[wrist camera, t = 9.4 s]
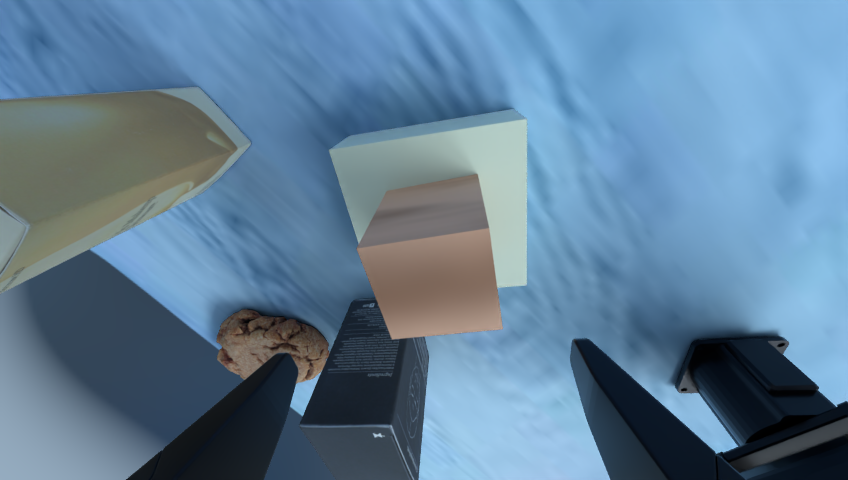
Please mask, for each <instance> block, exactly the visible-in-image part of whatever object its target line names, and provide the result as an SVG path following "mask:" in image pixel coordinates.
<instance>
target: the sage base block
mask: <svg viewBox="0 0 848 480" xmlns="http://www.w3.org/2000/svg"><path fill="white" fill-rule="evenodd" d="M329 152H330V156H331V159H332V162H333V165H334V168H335V171H336V174H337V178H338V181H339V184H340V187H341V190H342V193H343V196H344V200H345V203H346V206H347V209H348V212H349V215H350V218H351V222H352V225H353V228H354V231H355V234H356V237H357V240H358V244H359V243H360V241H361V239H362V237H363V235H364V233H365V231H366V229H367V227H368V226H369V224H370V222H371V220H372V218H373V216H374V214H375V212H376V210H377V208H378V206H379V205H380V203H381V201H382V199H383V197H384V195H385V193H386V191H389V190H394V189H400V188H405V187H410V186H416V185H421V184H426V183H432V182H437V181H442V180H448V179H453V178H458V177H464V176H469V175H474V174H478V178H479V182H480V187H481V192H482V196H483V201H484V206H485V211H486V215H487V220H488V225H489V230H490V237H491V245H492V252H493V260H494V267H495V275H496V282H497V288H499V287H513V286H526V285H527V118H525V117H524V116H523V115H521V114H520V113H519V112H518V111H516V110H515V109H509V110H503V111H497V112H491V113H485V114H479V115H473V116H466V117H460V118H454V119H448V120H442V121H436V122H430V123H424V124H417V125H411V126H405V127H399V128H393V129H387V130H381V131H375V132H369V133H362V134H356V135H350V136H348V137H347V138H345V139H344V140H342V141H341V142H340V143H338V144H337V145H335V146H334V147H332V148H331V149H329Z"/></svg>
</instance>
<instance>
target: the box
mask: <svg viewBox="0 0 848 480" xmlns="http://www.w3.org/2000/svg"><path fill="white" fill-rule="evenodd" d="M428 363H429V355H428V350H427V346H426V342H425V338H424V337H413V338H402V339H392V338H391V336H390V333H389V330H388V328H387V325H386V323H385V320H384V318H383V315H382V313H381V310H380V307H379V305H378V302H377V300H376V299H361V300H354V301H353V302H351V305H350V307H349V310H348V312H347V314H346V317H345V319H344V321H343V323H342V326H341V328H340V330H339V333H338V335H337V338H336V340H335V342H334V344H333V347H332V349H331V351H330V354H329V356H328V358H327V361H326V363H325V365H324V368H323V370H322V372H321V375H320V377H319V379H318V382H317V384H316V386H315V389H314V391H313V394H312V396H311V398H310V401H309V403H308V405H307V407H306V410H305V413H304V415H303V417H302V420H301V422H300V424H299V427H300V428H301V430H302V431H303V433H304V434H305V436H306V437H307V438H308V440H309V441H310V443H311V444H312V446H313V447H314V448H315V450H316V451H317V453H318V454H319V456H320V457H321V459H322V460H323V462H324V463H325V464H326V466H327V467H328V469H329V470H330V472H331V473H332V474H333V476H334V477H335V479H336V480H418V478H419V466H420V454H421V442H422V431H423V419H424V407H425V396H426V385H427V373H428Z"/></svg>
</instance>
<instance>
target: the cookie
mask: <svg viewBox="0 0 848 480" xmlns="http://www.w3.org/2000/svg"><path fill="white" fill-rule="evenodd" d="M220 327H221V329H220V330H219V333H218V335H217V342H218V343H219V344H221V346H222V348H221V349H220V350H219V353H218V356H217V359H218V361H219V362H220V363H222V364H223V365H224V366H225V367H226V368H227V369H228V370H229V371H232V372H234V373H236V374H239V375H241V376H240V377H241V378H243V379H246V378H247V377H249V376H250V375H251V374H252V373H253V372H255V371H256V370H257V369H258V368H259V367H260V366H262V365H263V364H264V363H265V362H266V361H268V360H269V359H270V358H271V357H272V356H273V355H275V354H277V353H286V352H287V353H289V354H290V355H291V356H292V358H293V360H294V361H295V363H296V365H297V367H298V371H299V373H298V378H297V382H296V383H298V382H304V381H306V380H311V379H313V378H314V377H315V376H316V375H318V374H319V373H320V372H321V371H322V370H323V368H324V365H325V363H326V359H327V358H328V356H329V351H328V346H329V345H328V342H327V340H325V338H324V337H323V336H322V335H321V333H319V332H318V330H317V329H314V328H313V327H312V326H307V325H306V324H302V323H297V320H294V319H289V320H287V319H286V318H285V317H275V318H274V317H273V316H272V317H268V316H260V315H259V313H257V312H256V311H253V310H247V309H243V310H241V311H239V312H237V313H234V314H233V315H232V316H230V317H228V318H227V319H226V320H225V321H224V322H223V323H222V325H221V326H220Z"/></svg>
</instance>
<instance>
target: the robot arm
mask: <svg viewBox="0 0 848 480" xmlns="http://www.w3.org/2000/svg"><path fill="white" fill-rule="evenodd" d="M788 345H789V342H788V341H787V340H786V339H785V338H783V337H779V336H778V337H755V338H731V339H707V340H697V341H694V342H693V343H692V344H691V347H690V349H689V352H688V355H687V357H686V360H685V362H684V365H683V367H682V370H681V372H680V375H679V377H678V380H677V383H676V385H675V388H676V389H677V391H678V392H679V393H699V394H700V396H701V397H702V398H703V400H704V401H705V402H706V404H707V405H708V406H709V408H710V409H711V410H712V412H713V413H714V414H715V416H716V417H717V418H718V420H719V421H720V423H721V424H722V425H723V427H724V428H725V429H726V431H727V432H728V433H729V435H730V436H731V437H732V439H733V440H734V441H735V443H736V444H737V445H738V447H736V448H734V449H731V450H729V451H726V452H724V453H723V452H719V453H717V454H716V453H715V451H714V450H713V449H711V448H710V447H709V446H708V445H707V444H706V443H705V442H704V441H702V440H701V439H700V438H699V437H698V436H697V435H696V434H695V433H693V432H692V431H691V430H690V429H689V428H688V427H687V426H686V425H685V424H683V423H682V422H681V421H680V420H679V419H678V418H677V417H676V416H674V415H673V414H672V413H671V412H670V411H669V410H668V409H667V408H665V407H664V406H663V405H662V404H661V403H660V402H659V401H658V400H657V399H655V398H654V397H653V396H652V395H651V394H650V393H649V392H648V391H646V390H645V389H644V388H643V387H642V386H641V385H640V384H639V383H637V382H636V381H635V380H634V379H633V378H632V377H631V376H630V375H629V374H627V373H626V372H625V371H624V370H623V369H622V368H621V367H620V366H618V365H617V364H616V363H615V362H614V361H613V360H612V359H611V358H609V357H608V356H607V355H606V354H605V353H604V352H603V351H602V350H601V349H599V348H598V347H597V346H596V345H595V344H594V343H593V342H592V341H590V340H589V339H586V338H582V339H573V341H572V346H571V355H570V362H571V367H572V370H573V374H574V377H575V381H576V384H577V388H578V391H579V395H580V398H581V402H582V405H583V409H584V412H585V416H586V419H587V422H588V424H589V427H590V430H591V432H592V435H593V437H594V440H595V442H596V445H597V447H598V450H599V452H600V455H601V457H602V460H603V462H604V465H605V467H606V470H607V472H608V475H609V477H610V480H848V402H847V401H845V402H843V403H840V404H838V405H837V406H838V407H836V406H835V405H834V404H833V403H832V402H830V401H829V400H828V399H827V398H826V397H825V396H824V395H823V394H822V393H820V392H819V391H818V389H819V387H818V386H817V385H816V384H815V383H814V382H813V381H812V380H811V379H810V378H808V377H807V376H806V375H805V374H804V373H803V372H802V371H801V370H799V369H798V368H797V367H796V366H795V365H794V364H793V363H792V362H790V361H789V360H788V359H787V358H786V357H785V356H784V355H783V353H784V351H785V350H786V348H787V347H788ZM298 373H299V371H298V367H297V365H296V363H295V361H294V360H293V358H292V356H291V355H290V354H289V353H287V352H286V353H277V354H275V355H273V356H272V357H271V358H270V359H269V360H268V361H266V362H265V363H264V364H263V365H262V366H260V367H259V368H258V369H257V370H256V371H255V372H253V373H252V374H251V375H250V376H249V377H247V378H246V379H245V380H244V381H243V382H242V383H240V384H239V385H238V386H237V387H236V388H235V389H233V390H232V391H231V392H230V393H229V394H227V395H226V396H225V397H224V398H223V399H222V400H220V401H219V402H218V403H217V404H216V405H214V406H213V407H212V408H211V409H210V410H208V411H207V412H206V413H205V414H204V415H203V416H201V417H200V418H199V419H198V420H197V421H196V422H194V423H193V424H192V425H191V426H190V427H188V428H187V429H186V430H185V431H184V432H182V433H181V434H180V435H179V436H178V437H177V438H175V439H174V440H173V441H172V442H171V443H170V444H168V445H167V446H166V447H165V448H164V449H163V451H160V452H159V453H158V454H156V455H155V456H154V457H153V458H152V459H150V460H149V461H148V462H147V463H146V464H145V465H143V466H142V467H141V468H140V469H139V470H137V471H136V472H135V473H134V474H132V475H131V476H130V477H129V478H128V479H126V480H264V478H265V475H266V473H267V470H268V467H269V465H270V462H271V459H272V456H273V454H274V451H275V448H276V446H277V443H278V441H279V438H280V435H281V433H282V430H283V427H284V424H285V421H286V418H287V415H288V411H289V407H290V404H291V400H292V396H293V393H294V389H295V385H296V382H297V378H298Z"/></svg>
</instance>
